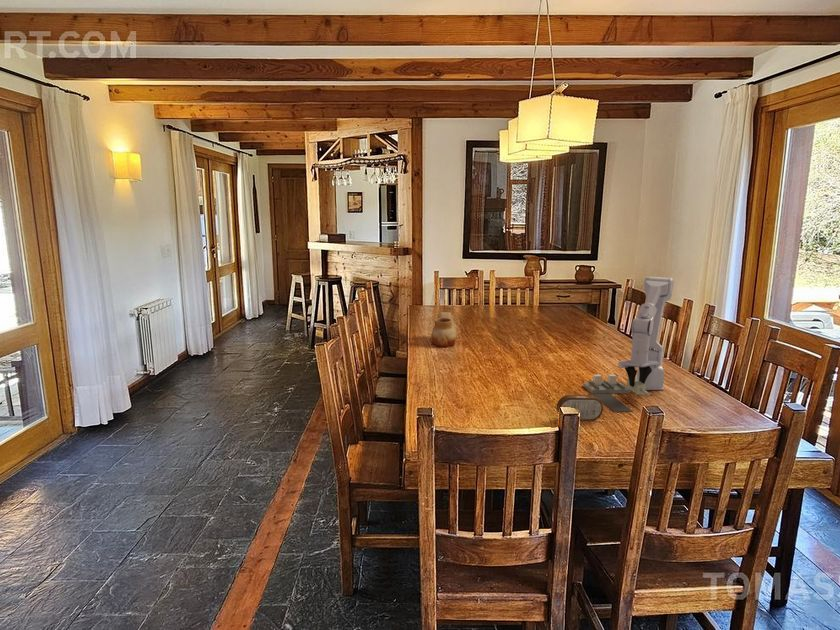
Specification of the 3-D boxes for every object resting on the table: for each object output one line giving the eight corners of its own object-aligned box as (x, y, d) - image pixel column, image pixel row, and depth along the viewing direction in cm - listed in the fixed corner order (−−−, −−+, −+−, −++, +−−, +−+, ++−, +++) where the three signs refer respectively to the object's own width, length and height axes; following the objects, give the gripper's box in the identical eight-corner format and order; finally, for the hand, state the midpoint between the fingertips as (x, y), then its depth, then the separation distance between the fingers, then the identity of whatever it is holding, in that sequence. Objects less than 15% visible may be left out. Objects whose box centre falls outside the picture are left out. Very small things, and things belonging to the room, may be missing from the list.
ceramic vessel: (457, 337, 287) (458, 310, 285) (456, 348, 262) (457, 319, 259) (433, 336, 289) (433, 309, 286) (429, 347, 263) (430, 318, 260)
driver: (634, 387, 196) (635, 378, 196) (652, 399, 184) (653, 389, 183) (626, 387, 196) (627, 378, 195) (644, 399, 183) (644, 389, 183)
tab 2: (613, 383, 206) (614, 374, 205) (616, 384, 203) (617, 376, 202) (606, 383, 205) (607, 374, 205) (609, 385, 203) (610, 376, 202)
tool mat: (610, 394, 197) (610, 393, 197) (633, 411, 179) (633, 411, 179) (592, 394, 196) (592, 394, 196) (613, 412, 179) (613, 411, 179)
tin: (599, 418, 173) (601, 394, 172) (603, 421, 170) (605, 397, 169) (555, 417, 173) (557, 393, 171) (558, 421, 170) (559, 397, 168)
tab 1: (599, 383, 205) (600, 374, 204) (601, 385, 203) (602, 376, 202) (591, 383, 205) (592, 374, 204) (594, 385, 202) (595, 376, 202)
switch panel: (619, 385, 207) (619, 379, 207) (629, 393, 199) (630, 387, 198) (583, 386, 206) (583, 380, 206) (592, 393, 197) (592, 387, 197)
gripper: (626, 353, 185) (622, 389, 187) (664, 353, 186) (660, 389, 188) (617, 348, 192) (613, 383, 194) (654, 348, 193) (650, 383, 195)
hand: (636, 385), depth 192 cm, fingers closed on driver, 3 cm apart
